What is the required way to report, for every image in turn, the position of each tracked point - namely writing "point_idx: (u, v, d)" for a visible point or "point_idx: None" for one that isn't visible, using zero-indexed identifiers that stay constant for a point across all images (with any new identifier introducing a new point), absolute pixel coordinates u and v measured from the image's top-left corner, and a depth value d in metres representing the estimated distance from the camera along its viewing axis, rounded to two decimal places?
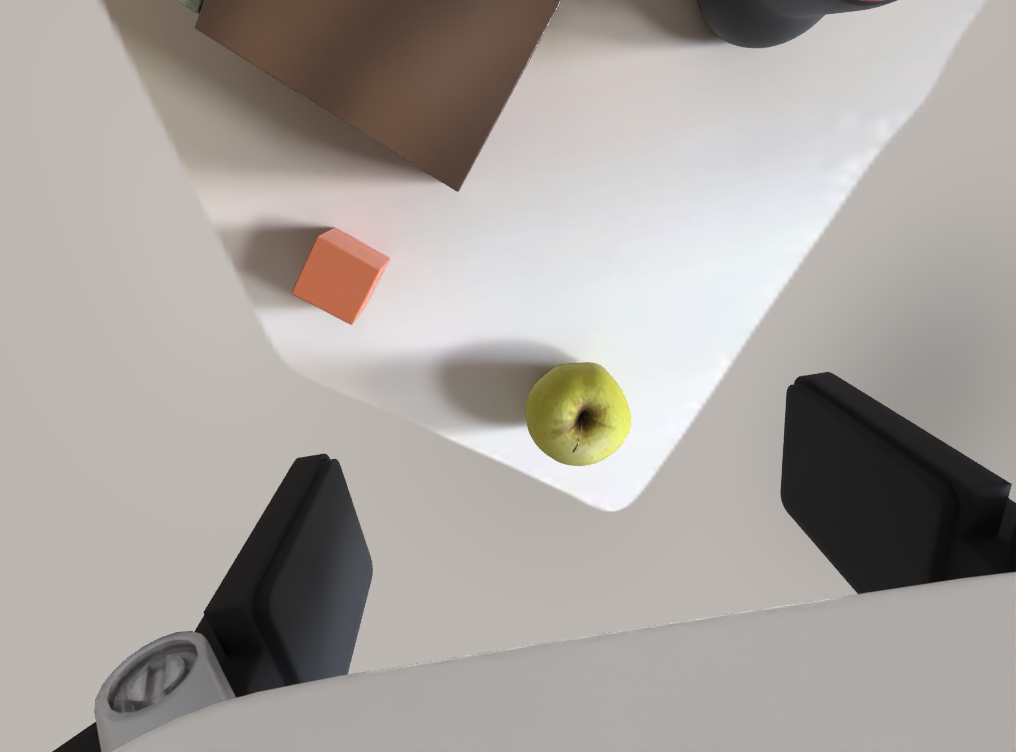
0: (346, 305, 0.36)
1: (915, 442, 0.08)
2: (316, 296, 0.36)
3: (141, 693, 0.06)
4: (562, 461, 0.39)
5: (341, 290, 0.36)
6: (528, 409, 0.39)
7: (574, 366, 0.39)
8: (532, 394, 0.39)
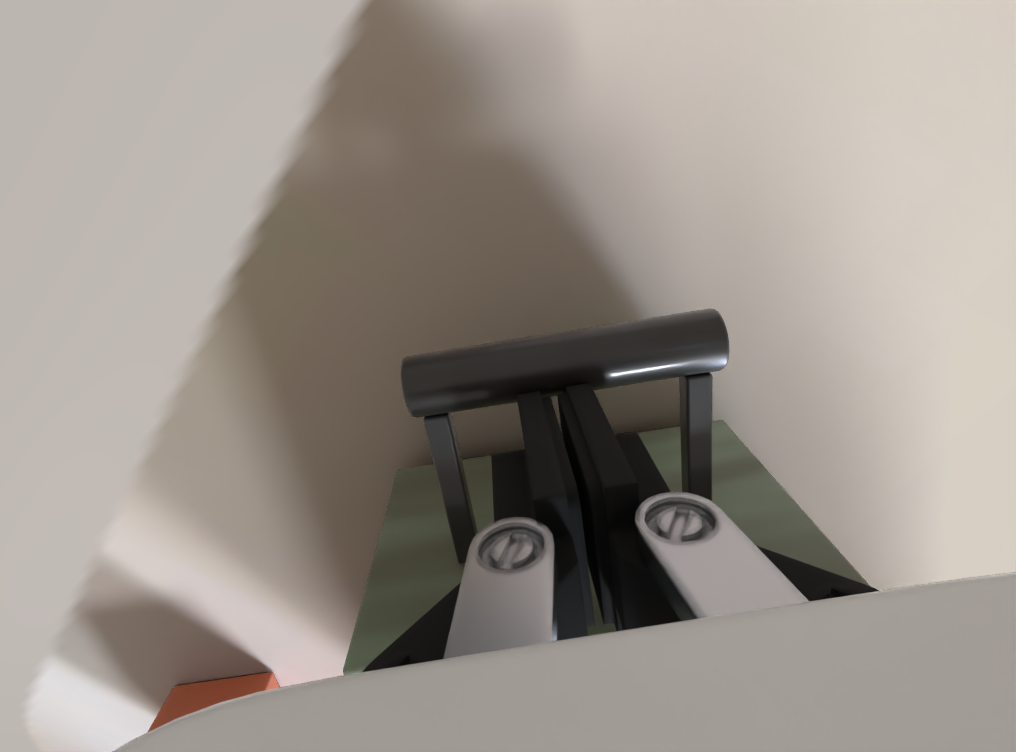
0: None
1: (599, 446, 0.09)
2: None
3: (505, 559, 0.07)
4: None
5: None
6: None
7: None
8: None
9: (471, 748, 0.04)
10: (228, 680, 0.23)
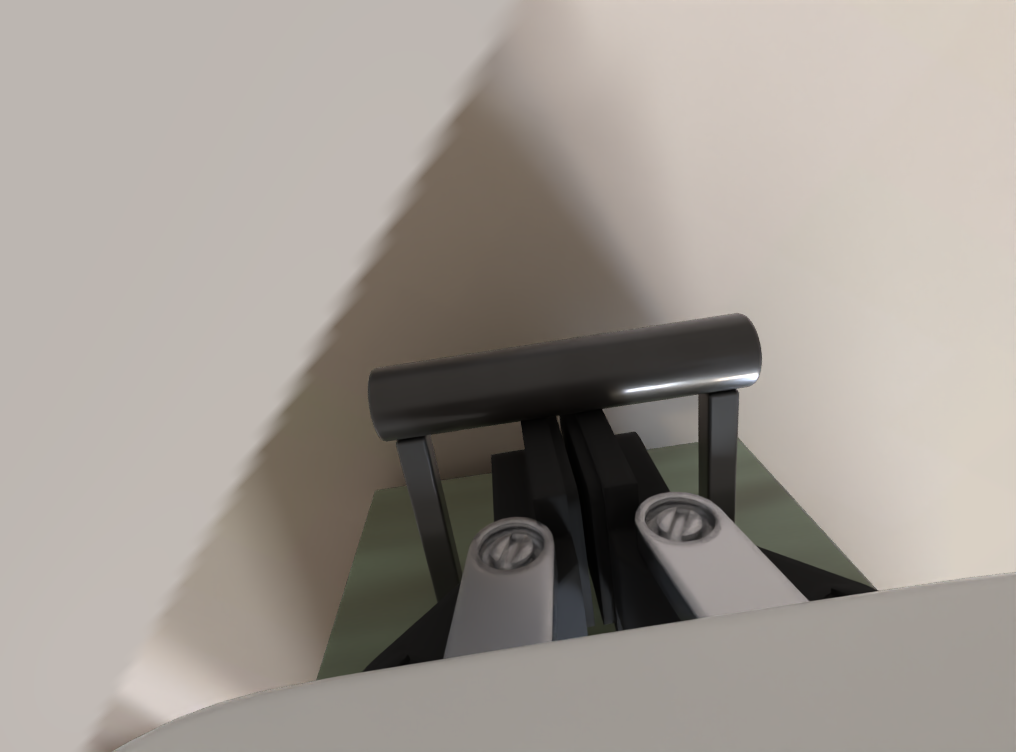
0: None
1: (599, 446, 0.09)
2: None
3: (505, 559, 0.07)
4: None
5: None
6: None
7: None
8: None
9: (471, 748, 0.04)
10: None
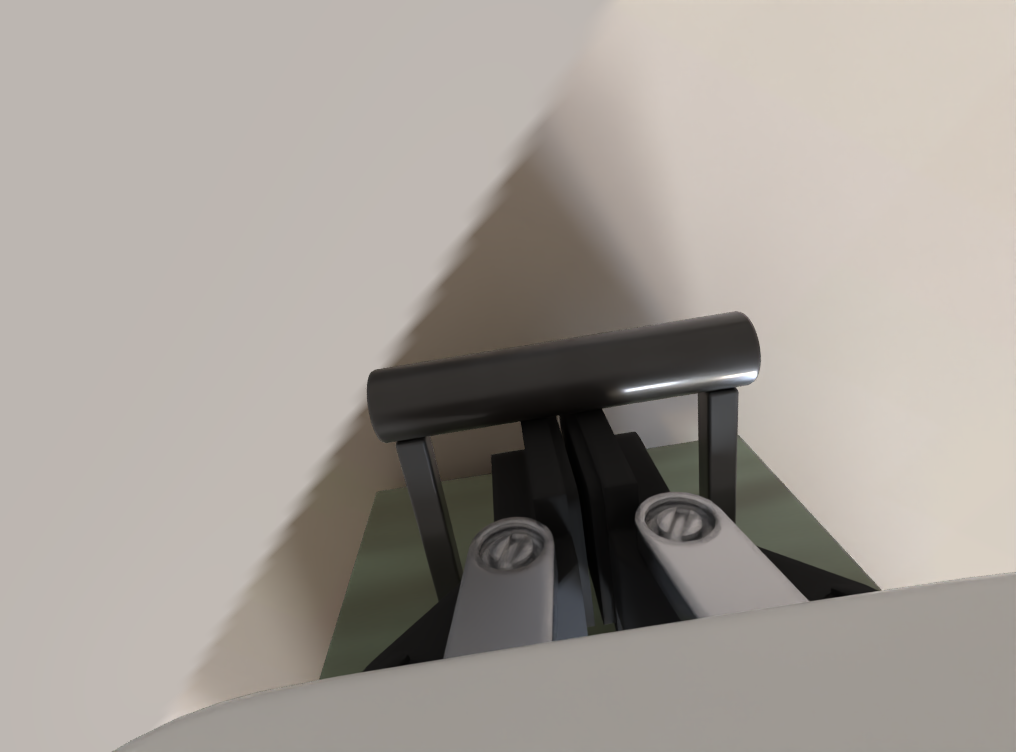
0: None
1: (599, 446, 0.09)
2: None
3: (505, 559, 0.07)
4: None
5: None
6: None
7: None
8: None
9: (471, 748, 0.04)
10: None
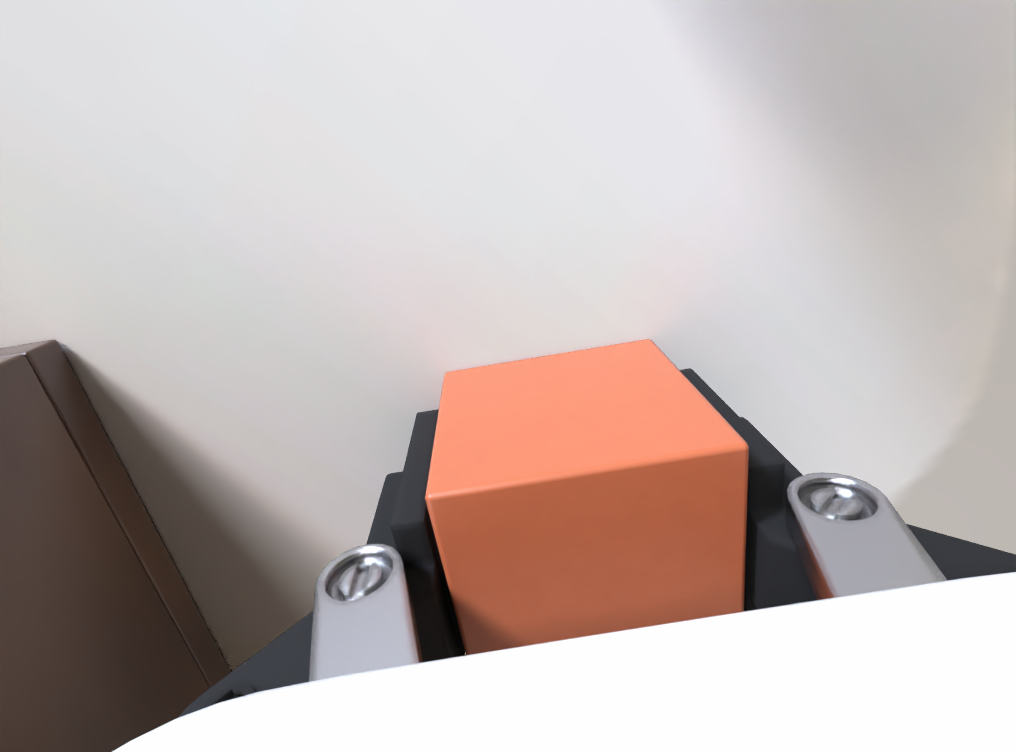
0: (672, 512, 0.07)
1: None
2: (702, 611, 0.08)
3: (351, 589, 0.07)
4: None
5: (621, 561, 0.08)
6: None
7: None
8: None
9: (471, 748, 0.04)
10: None
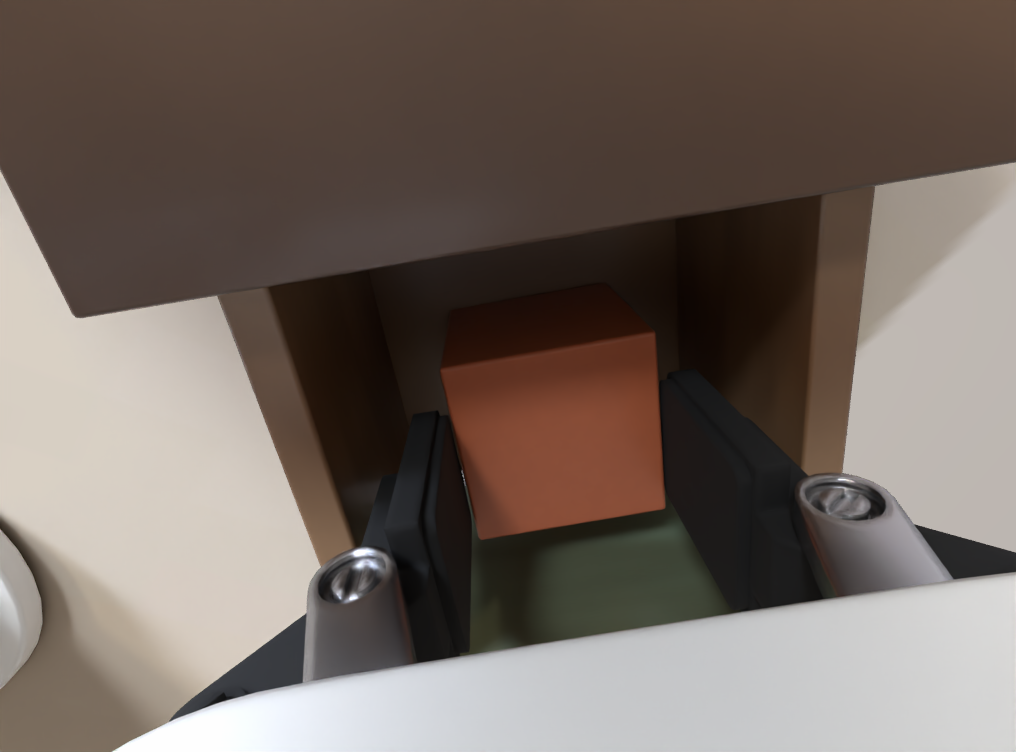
0: (606, 381, 0.11)
1: (733, 429, 0.09)
2: (632, 459, 0.12)
3: (344, 591, 0.07)
4: None
5: (574, 418, 0.11)
6: None
7: None
8: None
9: (471, 748, 0.04)
10: None
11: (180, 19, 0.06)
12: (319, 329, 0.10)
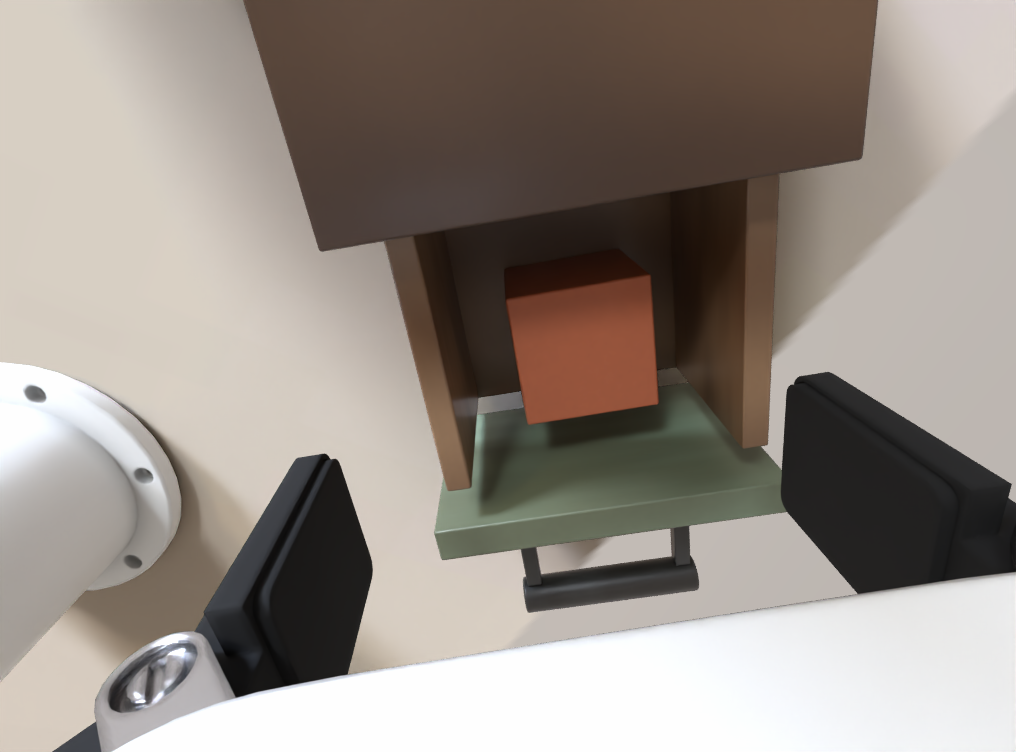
0: (617, 309, 0.16)
1: (915, 442, 0.08)
2: (635, 366, 0.17)
3: (141, 693, 0.06)
4: None
5: (594, 335, 0.17)
6: None
7: None
8: None
9: (471, 748, 0.04)
10: None
11: (397, 92, 0.11)
12: (431, 270, 0.15)
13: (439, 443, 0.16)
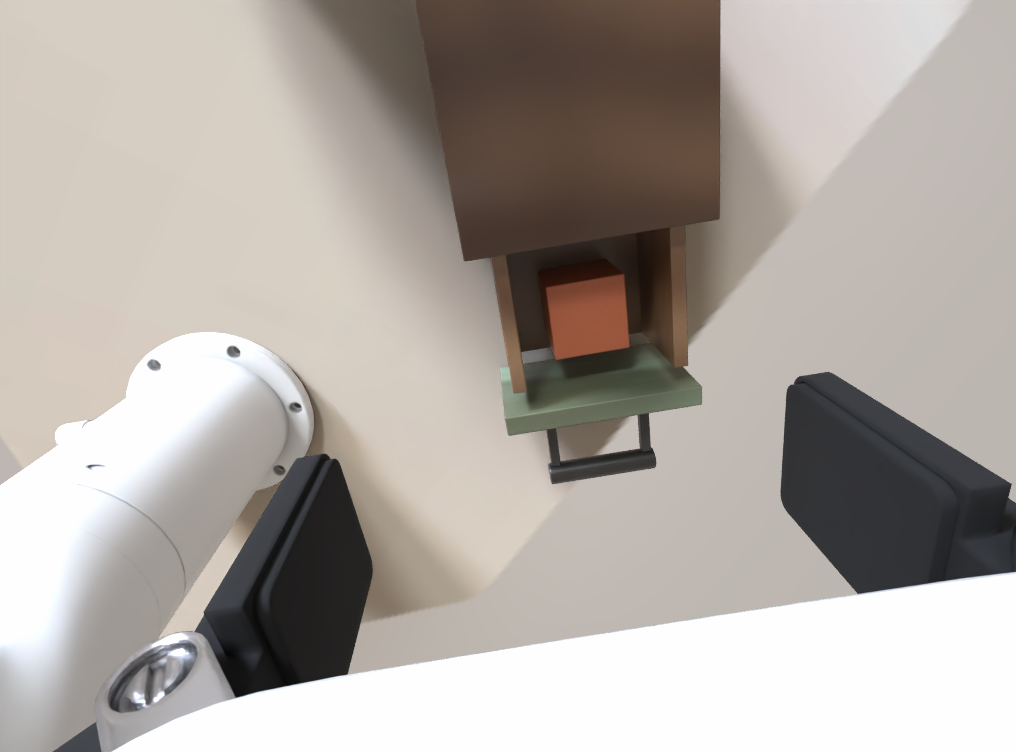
0: (606, 292, 0.30)
1: (915, 442, 0.08)
2: (616, 324, 0.31)
3: (141, 693, 0.06)
4: None
5: (594, 307, 0.30)
6: None
7: None
8: None
9: (471, 748, 0.04)
10: None
11: (507, 189, 0.24)
12: None
13: (510, 365, 0.29)
